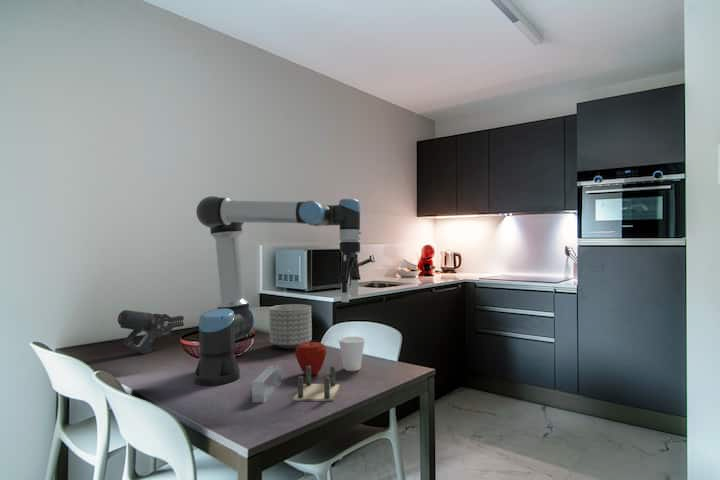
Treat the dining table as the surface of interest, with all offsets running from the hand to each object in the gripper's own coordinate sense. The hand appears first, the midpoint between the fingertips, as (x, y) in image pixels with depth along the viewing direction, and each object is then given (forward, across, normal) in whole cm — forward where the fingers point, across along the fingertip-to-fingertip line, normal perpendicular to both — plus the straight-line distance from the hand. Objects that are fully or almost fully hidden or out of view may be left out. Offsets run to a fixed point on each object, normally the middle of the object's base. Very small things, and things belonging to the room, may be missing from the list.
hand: (350, 299), depth 151 cm
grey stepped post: (+26, -27, +20) cm, 42 cm away
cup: (+26, +3, 0) cm, 26 cm away
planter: (+27, +31, +36) cm, 54 cm away
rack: (+26, -24, +4) cm, 36 cm away
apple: (+26, -6, +13) cm, 30 cm away
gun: (+27, +11, +94) cm, 99 cm away
